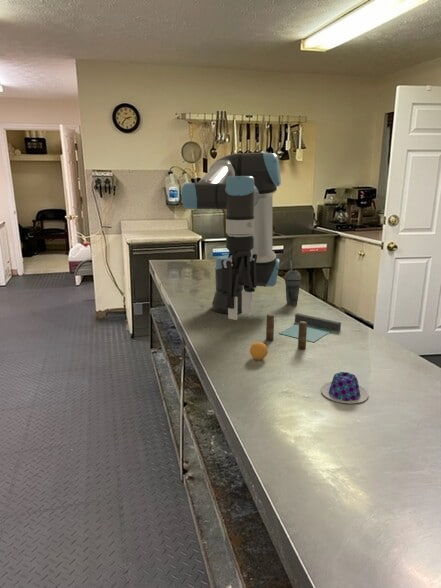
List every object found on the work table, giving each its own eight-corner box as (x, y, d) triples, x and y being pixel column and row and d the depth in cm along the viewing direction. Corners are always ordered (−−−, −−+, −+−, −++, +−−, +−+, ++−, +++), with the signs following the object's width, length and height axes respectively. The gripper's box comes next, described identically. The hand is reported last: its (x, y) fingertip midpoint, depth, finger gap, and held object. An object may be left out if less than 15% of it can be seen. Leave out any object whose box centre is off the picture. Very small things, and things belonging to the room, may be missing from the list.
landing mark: (278, 333, 156) (278, 333, 156) (298, 323, 167) (298, 323, 167) (313, 342, 148) (313, 342, 148) (331, 331, 158) (331, 330, 158)
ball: (246, 359, 135) (246, 343, 133) (256, 354, 139) (256, 338, 137) (261, 364, 131) (261, 347, 130) (270, 358, 135) (271, 342, 134)
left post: (264, 339, 151) (265, 315, 148) (268, 337, 152) (269, 313, 150) (270, 341, 149) (271, 316, 147) (274, 339, 151) (275, 314, 148)
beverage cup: (300, 307, 187) (301, 261, 182) (283, 306, 189) (284, 261, 184) (300, 302, 194) (302, 258, 189) (284, 301, 196) (285, 258, 190)
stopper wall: (294, 321, 169) (295, 314, 168) (297, 320, 170) (297, 313, 169) (338, 331, 158) (338, 323, 157) (340, 330, 159) (340, 322, 158)
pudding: (333, 379, 122) (334, 362, 120) (375, 392, 114) (376, 374, 113) (312, 396, 113) (313, 377, 112) (356, 411, 106) (358, 391, 104)
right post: (296, 348, 143) (297, 322, 140) (300, 346, 145) (301, 320, 142) (303, 350, 141) (304, 324, 139) (307, 348, 143) (308, 322, 141)
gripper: (229, 240, 108) (229, 327, 114) (270, 232, 122) (268, 310, 128) (206, 237, 112) (208, 321, 118) (248, 230, 126) (248, 306, 132)
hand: (239, 315), depth 123 cm, fingers open, 6 cm apart
